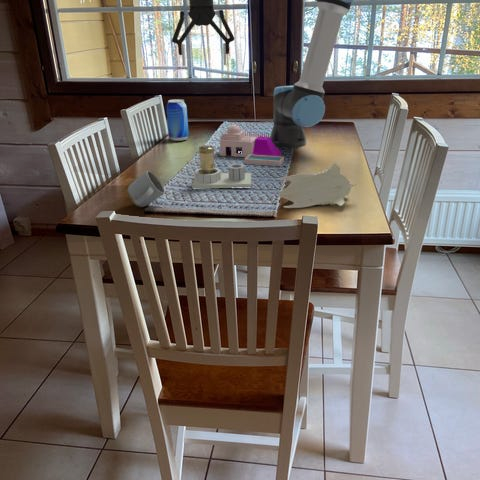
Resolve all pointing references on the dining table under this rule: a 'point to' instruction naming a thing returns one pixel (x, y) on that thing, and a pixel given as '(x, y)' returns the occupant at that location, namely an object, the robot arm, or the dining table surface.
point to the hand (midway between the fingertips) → (204, 65)
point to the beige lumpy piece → (316, 188)
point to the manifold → (223, 178)
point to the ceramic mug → (145, 189)
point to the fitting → (207, 159)
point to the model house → (250, 147)
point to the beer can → (177, 119)
